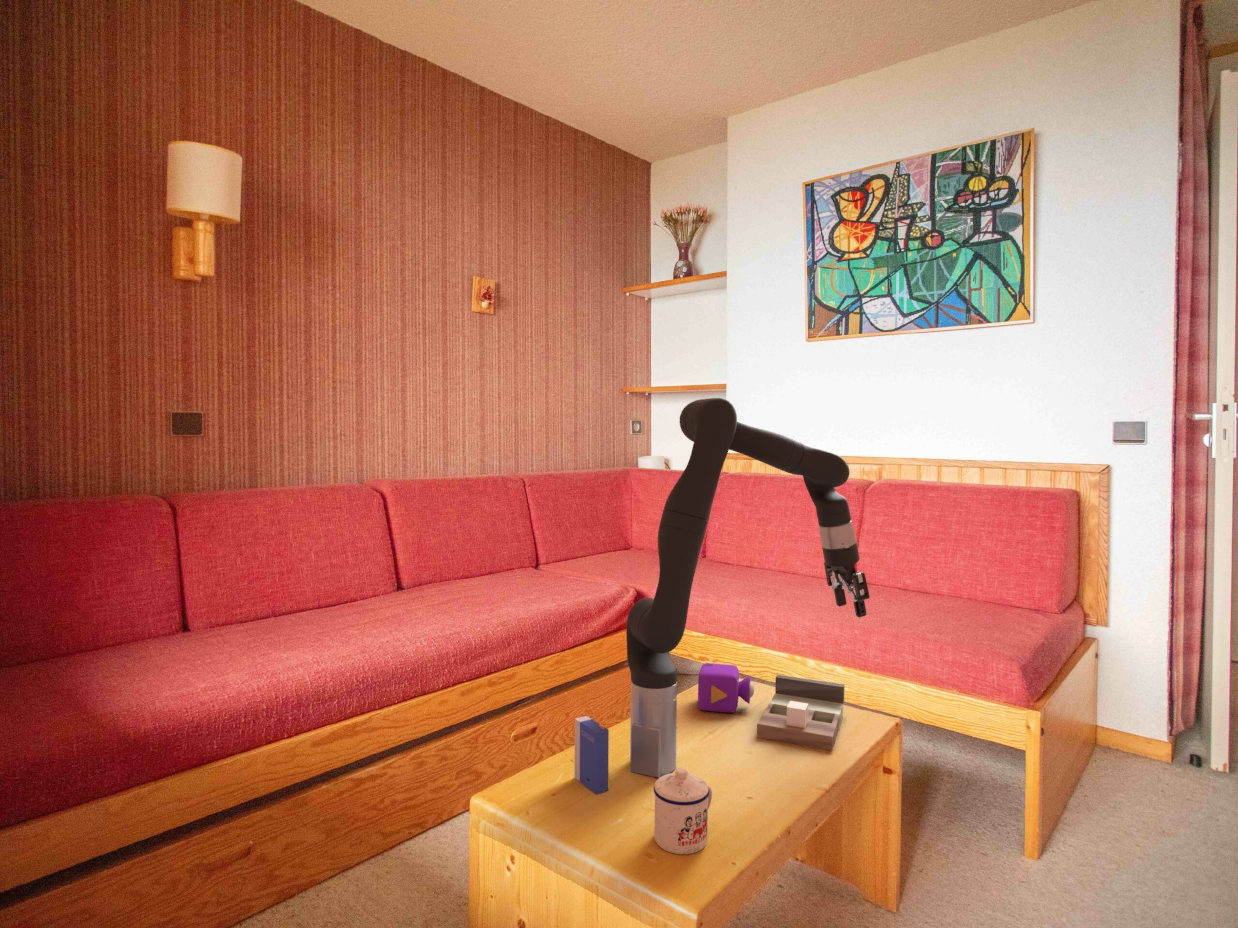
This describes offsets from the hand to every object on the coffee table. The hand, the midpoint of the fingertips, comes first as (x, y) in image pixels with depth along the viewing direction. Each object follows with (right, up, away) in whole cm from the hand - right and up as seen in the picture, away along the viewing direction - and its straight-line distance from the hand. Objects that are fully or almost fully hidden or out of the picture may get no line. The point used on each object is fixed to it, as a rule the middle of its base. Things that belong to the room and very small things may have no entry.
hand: (851, 610), depth 159 cm
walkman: (-58, -28, -25) cm, 69 cm away
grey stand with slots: (-10, -27, +3) cm, 29 cm away
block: (-13, -24, -4) cm, 28 cm away
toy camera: (-27, -26, +13) cm, 40 cm away
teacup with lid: (-41, -29, -42) cm, 66 cm away
